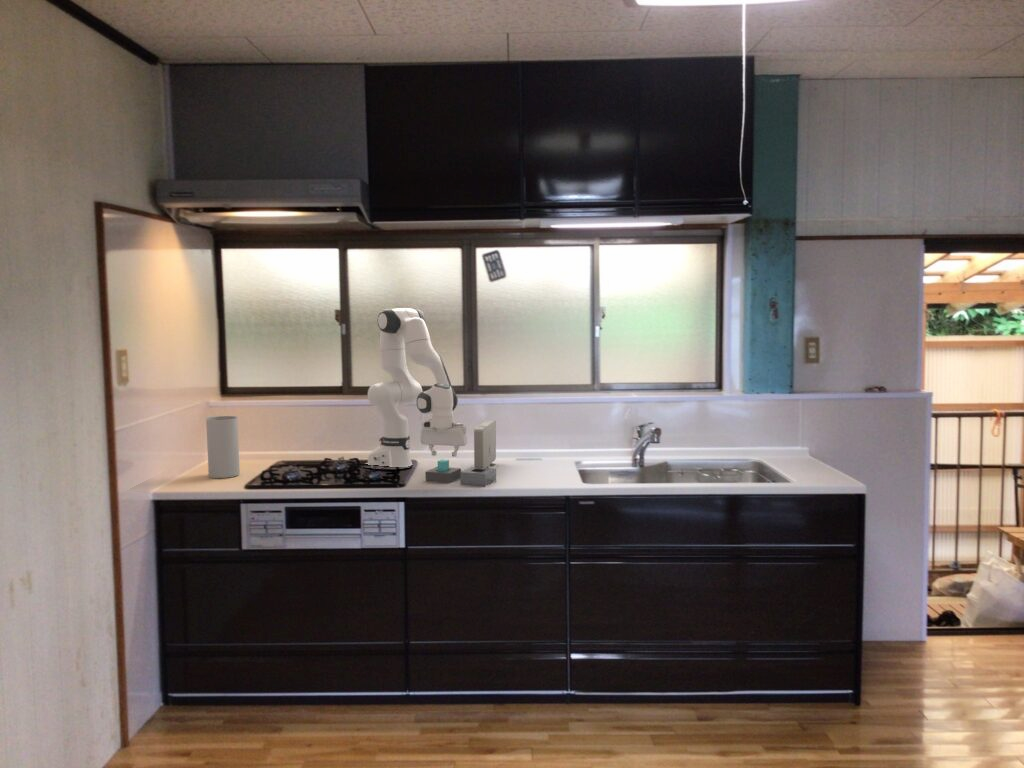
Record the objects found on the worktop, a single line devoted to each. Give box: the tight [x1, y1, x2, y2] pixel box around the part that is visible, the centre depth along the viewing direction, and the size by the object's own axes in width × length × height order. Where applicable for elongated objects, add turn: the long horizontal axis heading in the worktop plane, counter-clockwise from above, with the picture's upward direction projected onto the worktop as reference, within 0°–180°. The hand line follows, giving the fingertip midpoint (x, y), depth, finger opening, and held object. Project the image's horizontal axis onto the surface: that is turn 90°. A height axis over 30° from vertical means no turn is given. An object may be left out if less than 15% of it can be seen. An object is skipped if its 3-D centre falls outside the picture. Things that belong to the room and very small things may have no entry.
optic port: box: [459, 466, 497, 487], centre depth 315 cm, size 11×11×5 cm
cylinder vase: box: [205, 415, 241, 479], centre depth 328 cm, size 12×12×25 cm
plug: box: [437, 459, 450, 472], centre depth 320 cm, size 4×4×8 cm
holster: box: [424, 466, 462, 484], centre depth 321 cm, size 11×11×4 cm
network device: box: [473, 420, 499, 469], centre depth 341 cm, size 26×9×20 cm, turn 168°
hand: (444, 455), depth 319 cm, fingers open, 8 cm apart
